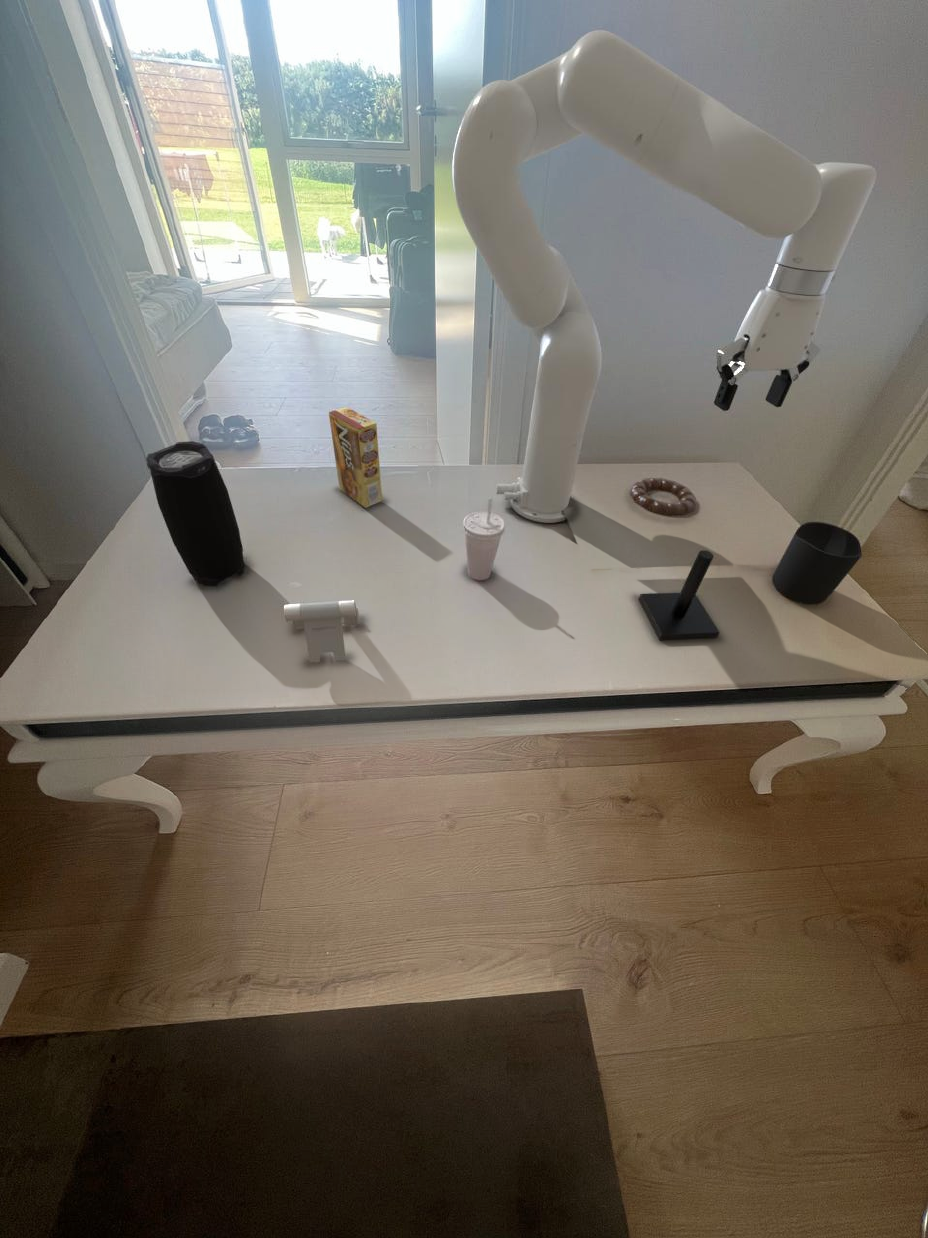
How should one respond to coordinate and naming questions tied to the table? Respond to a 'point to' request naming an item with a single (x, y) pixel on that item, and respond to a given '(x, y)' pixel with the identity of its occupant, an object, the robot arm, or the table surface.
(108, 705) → the table surface
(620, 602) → the table surface
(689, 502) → the chocolate torus ring
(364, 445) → the candy box
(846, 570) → the pen holder
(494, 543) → the smoothie
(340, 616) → the tablet stand
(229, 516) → the portable speaker
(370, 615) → the table surface
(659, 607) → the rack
